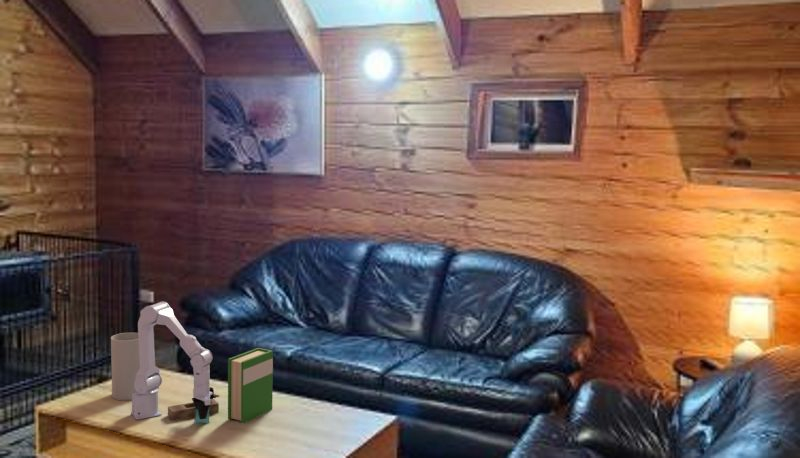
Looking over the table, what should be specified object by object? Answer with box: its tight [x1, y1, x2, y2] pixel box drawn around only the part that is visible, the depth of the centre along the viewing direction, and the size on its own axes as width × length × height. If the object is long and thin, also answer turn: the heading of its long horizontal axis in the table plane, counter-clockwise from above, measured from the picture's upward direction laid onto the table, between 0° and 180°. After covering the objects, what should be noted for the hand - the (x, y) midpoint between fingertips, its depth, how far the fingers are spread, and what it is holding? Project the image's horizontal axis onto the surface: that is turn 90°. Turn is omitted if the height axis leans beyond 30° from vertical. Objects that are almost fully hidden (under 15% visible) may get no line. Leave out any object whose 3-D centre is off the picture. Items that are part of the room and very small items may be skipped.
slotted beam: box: [167, 398, 220, 421], centre depth 278 cm, size 18×6×4 cm, turn 124°
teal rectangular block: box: [193, 407, 210, 426], centre depth 269 cm, size 5×2×6 cm, turn 123°
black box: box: [210, 386, 220, 399], centre depth 295 cm, size 12×7×5 cm, turn 150°
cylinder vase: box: [110, 332, 140, 401], centre depth 294 cm, size 12×12×25 cm
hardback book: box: [227, 347, 274, 424], centre depth 278 cm, size 18×7×24 cm, turn 152°
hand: (201, 417), depth 269 cm, fingers closed on teal rectangular block, 2 cm apart
